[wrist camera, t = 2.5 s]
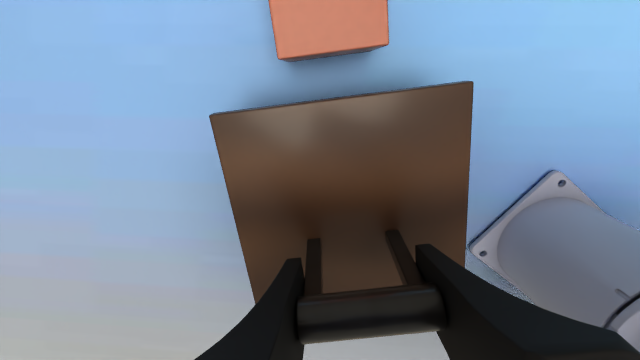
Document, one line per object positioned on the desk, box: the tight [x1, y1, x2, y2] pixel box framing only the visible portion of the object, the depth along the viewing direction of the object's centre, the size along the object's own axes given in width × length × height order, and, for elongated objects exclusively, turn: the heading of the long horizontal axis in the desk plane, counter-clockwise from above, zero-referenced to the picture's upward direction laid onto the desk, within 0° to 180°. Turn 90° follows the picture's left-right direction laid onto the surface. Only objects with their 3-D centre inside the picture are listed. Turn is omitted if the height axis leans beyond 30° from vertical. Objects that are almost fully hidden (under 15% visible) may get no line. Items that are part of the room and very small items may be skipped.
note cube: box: [269, 0, 389, 62], centre depth 15 cm, size 5×5×5 cm
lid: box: [209, 81, 473, 344], centre depth 13 cm, size 11×12×6 cm
